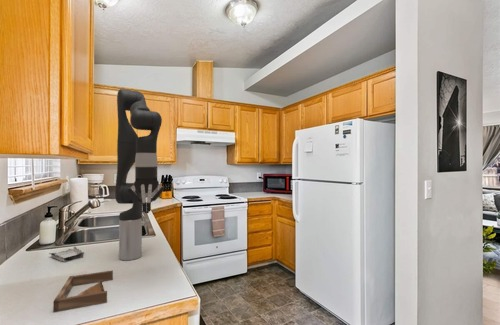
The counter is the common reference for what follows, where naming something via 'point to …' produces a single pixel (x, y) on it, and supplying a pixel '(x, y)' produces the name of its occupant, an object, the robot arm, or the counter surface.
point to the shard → (93, 289)
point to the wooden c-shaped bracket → (81, 300)
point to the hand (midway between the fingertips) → (146, 212)
